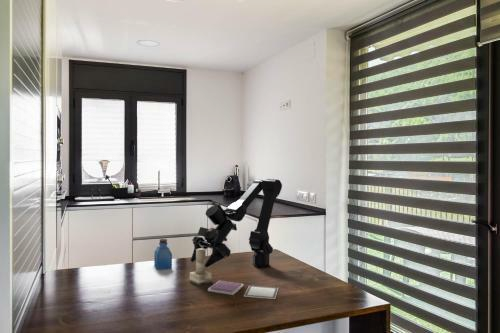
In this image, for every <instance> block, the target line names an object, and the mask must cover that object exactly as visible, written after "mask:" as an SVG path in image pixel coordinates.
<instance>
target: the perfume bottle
mask: <svg viewBox="0 0 500 333" xmlns="http://www.w3.org/2000/svg"><path fill="white" fill-rule="evenodd" d="M158 245H159V246H156V248H155V249H154V250H155V251H154V255H153V256H154V262H153V263H154V264H153V267H154V268H155V269H156V270H157V271H159V270H160V271H162V270H168V269H169V270H171V269H172V268H173V254H172V251H171V250H170V248H169V246H168V239H167V238H161V239H159V243H158Z"/></svg>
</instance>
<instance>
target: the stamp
mask: <svg viewBox="0 0 500 333" xmlns="http://www.w3.org/2000/svg"><path fill="white" fill-rule="evenodd" d="M206 250H207V249H203V248H199V249H196V260H195V271H191V272H189V282H191V283H192V284H195V285H197V286H201V285H205V284H208V283H211V282H212V272H210V271H207V270H206V267H205V264H206V255H207V254H206Z"/></svg>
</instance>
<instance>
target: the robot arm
mask: <svg viewBox="0 0 500 333" xmlns="http://www.w3.org/2000/svg"><path fill="white" fill-rule="evenodd" d="M282 187H283V184H282V182H281V180H279V179H274V178H266V179H265V180H263V179H255V180H253V181H252V184H251V185H250V186H249V187H248V188H247V190H246V191H245V192H244V193H243V195H241V197H240V198H239V199H238V200H237V201H235V202H232V203H231V204H229V205H228V206H227V207H226V208H225V209H224V208H223V207H222V206H221V204H220V203H215V204H214V205H211V206H210V207H208V208H207V209H206V210H205V215H206V217H207V218H208V220H210V222H211V223H212V224H213V225H214V226H216V227H215V228H214V227H210V228H206V227H203V226H200V228H199V229H198V232H197V235H198V236H197V235H196V236H194V237H193V238H192V239H191V242H192V244H193V247H194V248H193V253H192V255H191V258H190V262H191V263H193V262H196V249H199V248H203V249H206V250H207V249H212V250H211V251H212V252H211V254H210V255H209V257H208V259H207V261H205V268H208V267H210V266H211V265H213V264H216V263H218V262H220V261H221V260H223V259H226V258H229V257H230V256H231V249H230V248H229V247H228V246H227V245H226V243H224V242H227V241H228V238H227V237H228V236H229V235H230V233H231V231H235V232H237V230H238V229H237V228H238V227H237V223H235V222H241V221H243V219H244V217H245V216H246V214H247V211H248V207H249V206H250V205H251V204H252V203H253V202H254V200H255V199H256V198H257V196H259V194H260V193H261V192H262V193H263V200H262V204H261V208H260V211H259V212H260V213H259V216H258V221H257V226H256V228H255V230H251V231H250V235H249V238H248V244H249V246H250V250H251V251H252V252H253V255H252V265H253V266H254V267H256V268H257V269H258V268H259V269H260V268H269V267H271V266H272V265H270V254H273V250H274V247H273V246H272V245H271V244H270V234H269V231H268V229H269V226H270V222H271V217H272V213H273V209H274V205H275V200H276V199H277V198H278V197H279V195H280V194H281V191H282Z"/></svg>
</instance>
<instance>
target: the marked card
mask: <svg viewBox="0 0 500 333" xmlns="http://www.w3.org/2000/svg"><path fill="white" fill-rule="evenodd" d="M278 291H279V287H274V286H262V285H248V288H247V289H246V291H245V293H244V294H243V297H249V298H259V299H270V300H271V299H272V300H276V297H277V293H278Z"/></svg>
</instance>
